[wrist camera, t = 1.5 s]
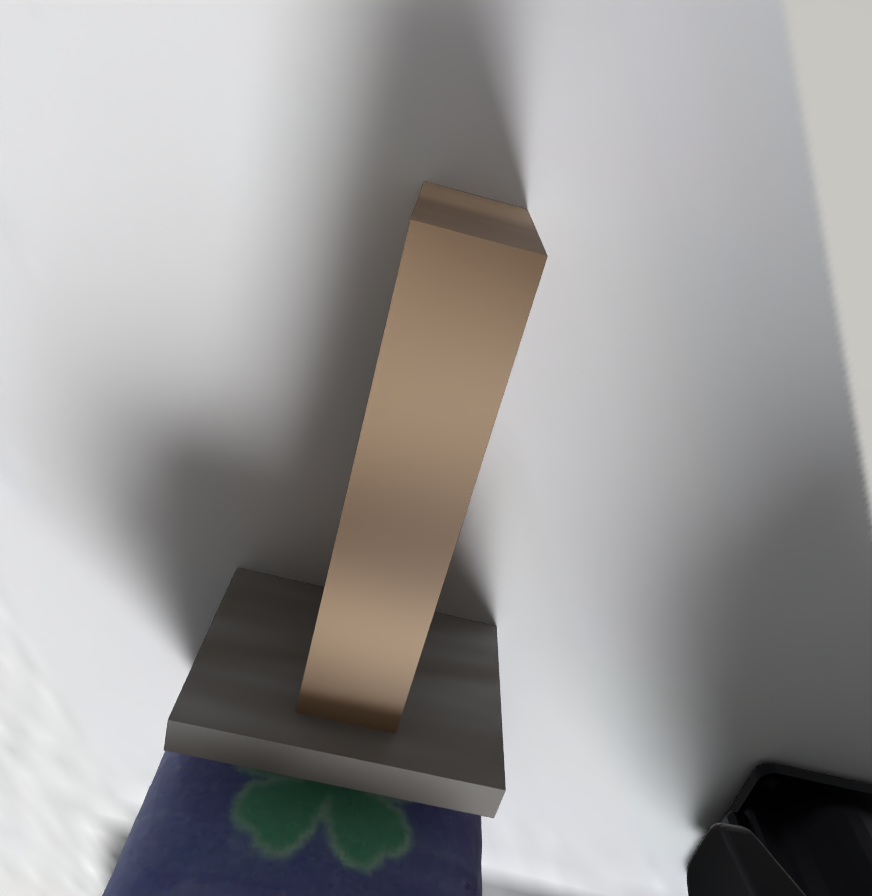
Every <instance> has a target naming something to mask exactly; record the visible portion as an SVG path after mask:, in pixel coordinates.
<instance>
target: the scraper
mask: <svg viewBox="0 0 872 896" xmlns="http://www.w3.org/2000/svg"><path fill="white" fill-rule="evenodd" d="M546 259H547V254H546V251H545V249H544V247H543V244H542V242H541V240H540V237H539V235H538V233H537V230H536V228H535V226H534V223H533V221H532V219H531V216H530V214H529V212H528V209H524V208H520V207H517V206H513V205H509V204H506V203H502V202H498V201H495V200H491V199H487V198H484V197H480V196H476V195H473V194H469V193H465V192H462V191H458V190H454V189H451V188H447V187H443V186H439V185H436V184H432V183H428V182H425V181H424V183H423V186H422V189H421V191H420V194H419V197H418V200H417V202H416V205H415V208H414V211H413V214H412V216H411V219H410V223H409V228H408V232H407V236H406V240H405V245H404V249H403V253H402V257H401V262H400V266H399V270H398V275H397V279H396V283H395V287H394V292H393V296H392V300H391V305H390V309H389V313H388V317H387V322H386V326H385V330H384V335H383V339H382V343H381V347H380V352H379V356H378V360H377V364H376V369H375V373H374V377H373V382H372V386H371V390H370V394H369V399H368V403H367V407H366V412H365V416H364V420H363V424H362V429H361V433H360V437H359V441H358V446H357V450H356V454H355V459H354V463H353V467H352V471H351V476H350V480H349V484H348V489H347V493H346V497H345V501H344V506H343V510H342V514H341V519H340V523H339V527H338V531H337V536H336V540H335V544H334V548H333V553H332V557H331V561H330V566H329V570H328V574H327V578H326V583H325V587H321V586H316V585H312V584H308V583H303V582H299V581H294V580H290V579H285V578H281V577H277V576H272V575H268V574H263V573H259V572H255V571H250V570H246V569H241V568H237V569H236V571H235V573H234V576H233V578H232V580H231V582H230V584H229V587H228V589H227V591H226V593H225V595H224V598H223V600H222V602H221V604H220V606H219V609H218V611H217V613H216V615H215V617H214V620H213V622H212V624H211V626H210V628H209V631H208V633H207V635H206V637H205V639H204V642H203V644H202V646H201V648H200V650H199V652H198V655H197V657H196V659H195V661H194V663H193V666H192V668H191V670H190V672H189V674H188V677H187V679H186V681H185V683H184V685H183V688H182V690H181V692H180V694H179V696H178V699H177V701H176V703H175V705H174V707H173V710H172V712H171V714H170V716H169V718H168V723H167V730H166V737H165V745H164V750H165V751H170V752H175V753H179V754H184V755H189V756H194V757H199V758H204V759H209V760H213V761H218V762H223V763H228V764H233V765H238V766H243V767H247V768H252V769H257V770H262V771H267V772H272V773H277V774H281V775H286V776H291V777H296V778H301V779H306V780H311V781H315V782H320V783H325V784H330V785H335V786H340V787H345V788H349V789H354V790H359V791H364V792H369V793H374V794H379V795H384V796H388V797H393V798H398V799H403V800H408V801H413V802H418V803H422V804H427V805H432V806H437V807H442V808H447V809H452V810H456V811H461V812H466V813H471V814H476V815H481V816H486V817H490V818H494V817H495V814H496V812H497V809H498V807H499V805H500V802H501V800H502V798H503V795H504V793H505V791H506V788H505V770H504V752H503V734H502V715H501V697H500V679H499V661H498V643H497V626H493V625H489V624H484V623H480V622H475V621H471V620H466V619H462V618H458V617H453V616H449V615H444V614H440V613H436V612H435V608H436V605H437V602H438V599H439V596H440V593H441V590H442V586H443V583H444V580H445V577H446V574H447V571H448V567H449V564H450V561H451V558H452V555H453V552H454V549H455V545H456V542H457V539H458V536H459V533H460V530H461V527H462V523H463V520H464V517H465V514H466V511H467V508H468V505H469V501H470V498H471V495H472V492H473V489H474V486H475V483H476V479H477V476H478V473H479V470H480V467H481V464H482V461H483V457H484V454H485V451H486V448H487V445H488V442H489V439H490V435H491V432H492V429H493V426H494V423H495V420H496V417H497V413H498V410H499V407H500V404H501V401H502V398H503V395H504V391H505V388H506V385H507V382H508V379H509V376H510V373H511V369H512V366H513V363H514V360H515V357H516V354H517V351H518V347H519V344H520V341H521V338H522V335H523V332H524V329H525V325H526V322H527V319H528V316H529V313H530V310H531V307H532V303H533V300H534V297H535V294H536V291H537V288H538V285H539V281H540V278H541V275H542V272H543V269H544V266H545V263H546Z"/></svg>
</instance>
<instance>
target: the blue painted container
mask: <svg viewBox="0 0 872 896" xmlns="http://www.w3.org/2000/svg"><path fill="white" fill-rule="evenodd" d="M481 855H482V832H481V815H476V814H471V813H466V812H461V811H456V810H452V809H447V808H442V807H437V806H432V805H427V804H422V803H418V802H413V801H408V800H403V799H398V798H393V797H388V796H384V795H379V794H374V793H369V792H364V791H359V790H354V789H349V788H345V787H340V786H335V785H330V784H325V783H320V782H315V781H311V780H306V779H301V778H296V777H291V776H286V775H281V774H277V773H272V772H267V771H262V770H257V769H252V768H247V767H243V766H238V765H233V764H228V763H223V762H218V761H213V760H209V759H204V758H199V757H194V756H189V755H184V754H179V753H175V752H170V751H165V753H164V755H163V757H162V760H161V762H160V765H159V767H158V770H157V772H156V775H155V777H154V779H153V782H152V784H151V785H150V787H149V790H148V792H147V795H146V797H145V800H144V802H143V804H142V807H141V809H140V811H139V813H138V815H137V817H136V819H135V822H134V824H133V827H132V829H131V831H130V834H129V836H128V838H127V841H126V843H125V845H124V848H123V850H122V852H121V855H120V857H119V859H118V862H117V864H116V867H115V870H114V872H113V874H112V876H111V878H110V880H109V883H108V885H107V887H106V889H105V891H104V893H103V895H102V896H482V876H481Z"/></svg>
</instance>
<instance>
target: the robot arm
mask: <svg viewBox="0 0 872 896" xmlns="http://www.w3.org/2000/svg"><path fill="white" fill-rule="evenodd" d="M687 886H688V895H689V896H872V785H870V784H866V783H861V782H856V781H852V780H847V779H843V778H838V777H834V776H829V775H824V774H820V773H815V772H811V771H806V770H802V769H797V768H792V767H788V766H783V765H779V764H774V763H766V764H762V765H760V766H758V767H756V768H755V769H754V770H753V772H752V774H751V775H750V777H749V778H748V780H747V782H746V783H745V785H744V786H743V788H742V790H741V791H740V793H739V794H738V796H737V798H736V799H735V801H734V802H733V804H732V806H731V807H730V809H729V810H728V812H727V814H726V815H725V817H724V818H723V820H722V822H721V823H716V824H714V825H712V826H711V827H710V829H709V830H708V832H707V834H706V835H705V837H704V839H703V840H702V842H701V843H700V845H699V847H698V848H697V850H696V852H695V853H694V855H693V857H692V858H691V860H690V863H689V866H688V871H687Z"/></svg>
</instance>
